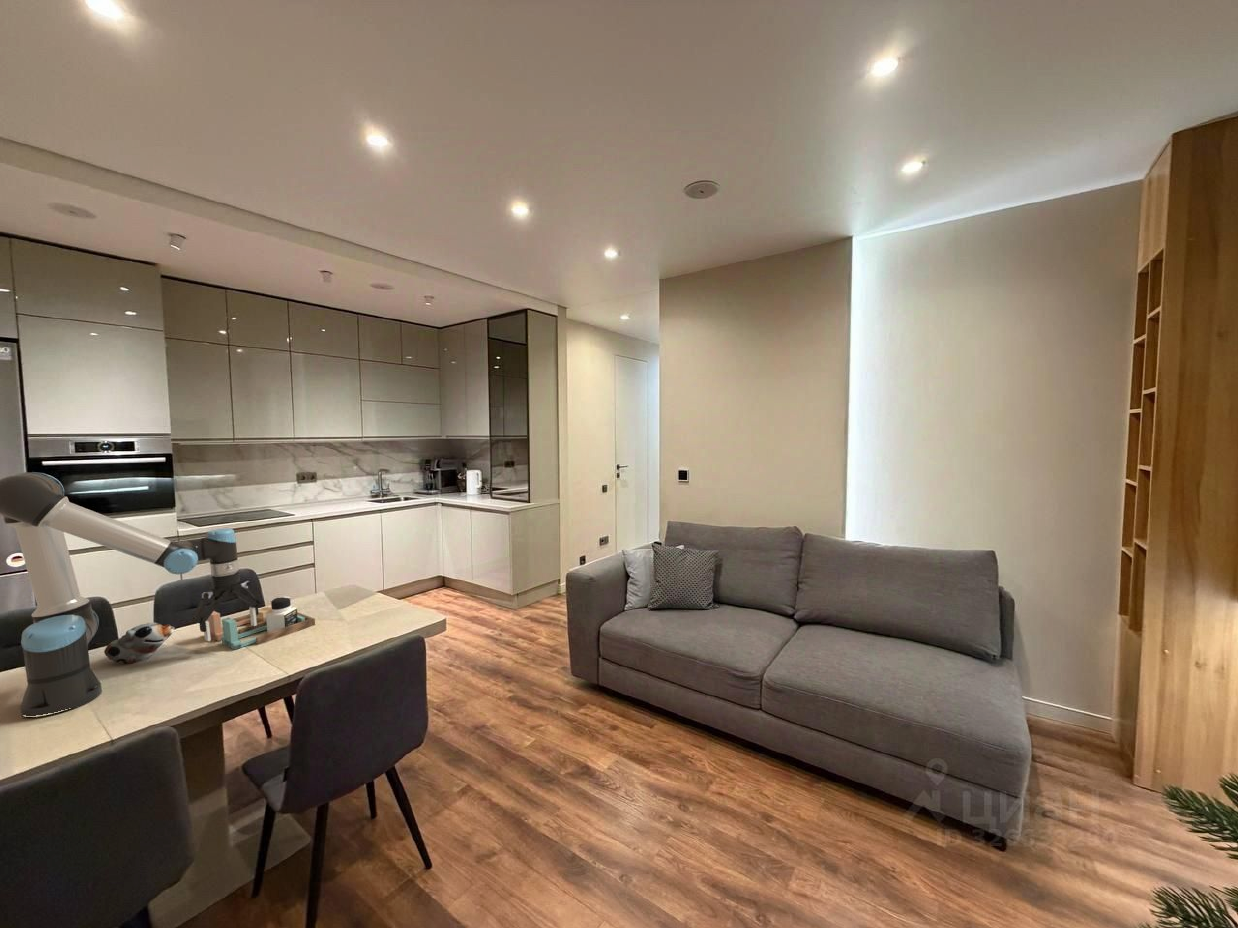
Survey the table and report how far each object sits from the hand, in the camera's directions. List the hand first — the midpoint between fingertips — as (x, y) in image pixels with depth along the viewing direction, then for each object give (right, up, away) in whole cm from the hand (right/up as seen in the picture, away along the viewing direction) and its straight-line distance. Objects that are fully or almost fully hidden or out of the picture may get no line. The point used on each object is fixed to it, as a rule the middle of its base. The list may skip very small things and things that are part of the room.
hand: (231, 632), depth 172 cm
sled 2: (+5, -4, +9) cm, 11 cm away
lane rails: (+2, -3, +16) cm, 17 cm away
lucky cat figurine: (-26, -6, -6) cm, 27 cm away
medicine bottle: (+8, -4, +14) cm, 17 cm away
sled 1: (-6, -3, +16) cm, 18 cm away
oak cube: (-3, -3, +21) cm, 22 cm away
